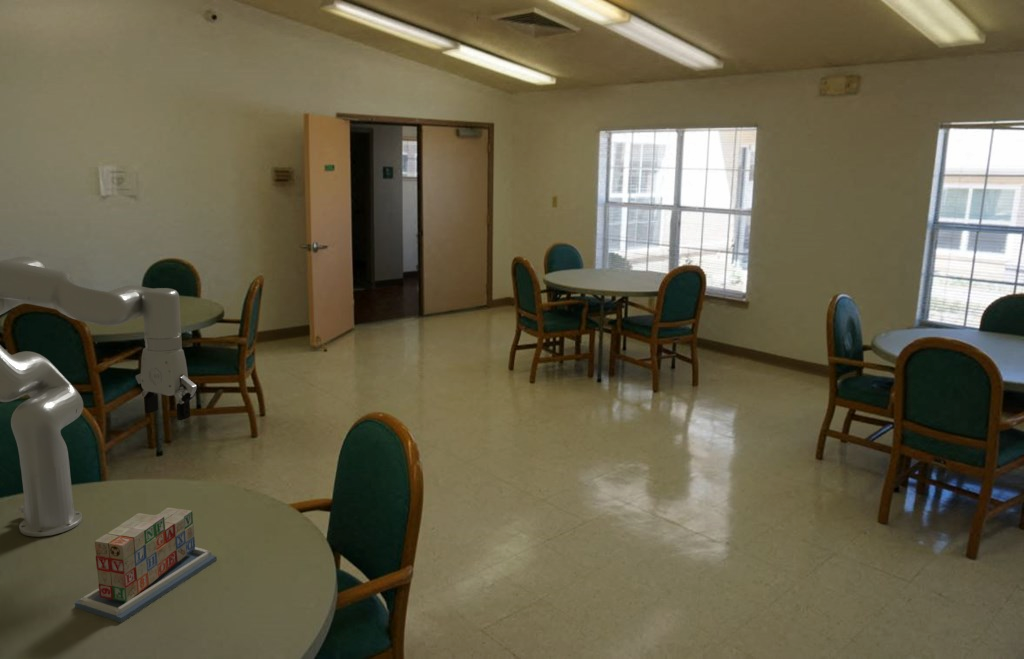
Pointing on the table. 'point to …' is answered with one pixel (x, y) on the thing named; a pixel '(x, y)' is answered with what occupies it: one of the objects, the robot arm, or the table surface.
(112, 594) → the stack of blocks
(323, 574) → the table surface
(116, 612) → the shallow rectangular tray
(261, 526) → the table surface
